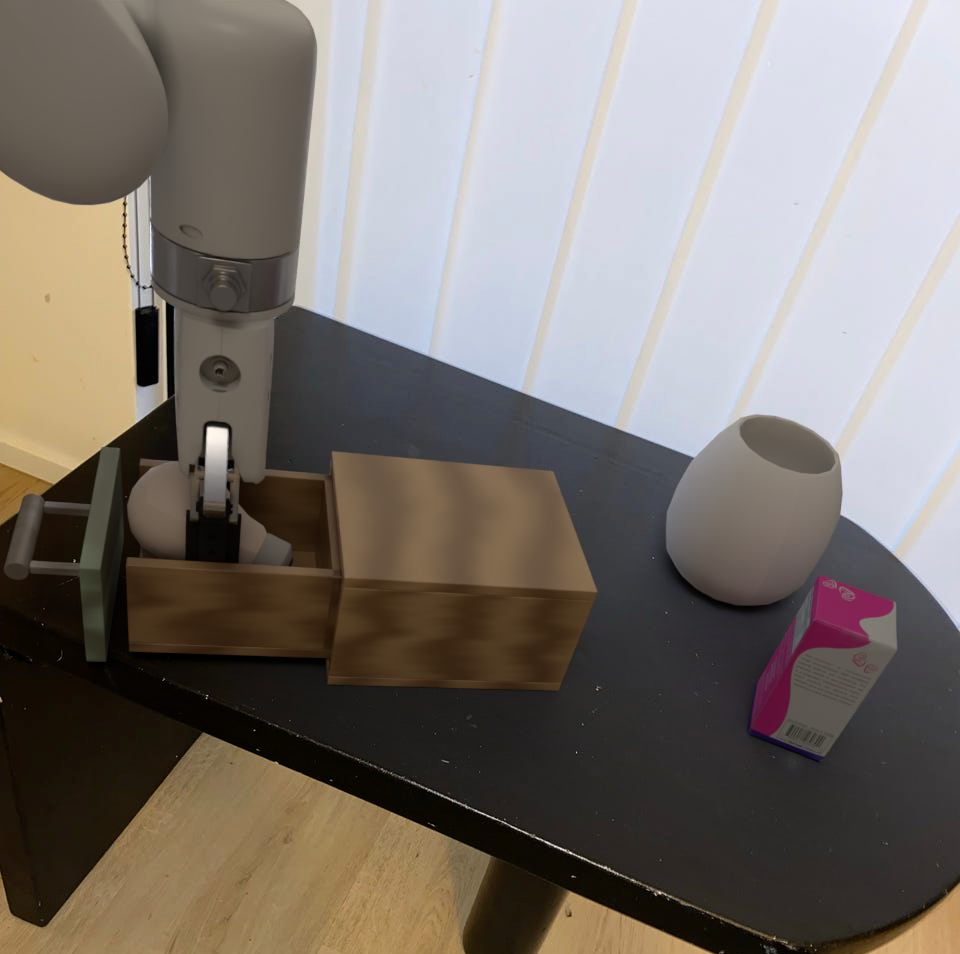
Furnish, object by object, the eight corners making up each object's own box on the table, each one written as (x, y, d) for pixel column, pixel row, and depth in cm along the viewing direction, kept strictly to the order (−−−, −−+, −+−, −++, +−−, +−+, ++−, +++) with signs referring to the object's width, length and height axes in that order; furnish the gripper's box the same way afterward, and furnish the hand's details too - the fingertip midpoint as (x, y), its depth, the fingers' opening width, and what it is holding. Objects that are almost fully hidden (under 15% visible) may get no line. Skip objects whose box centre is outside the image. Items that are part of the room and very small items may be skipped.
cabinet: (327, 684, 66) (344, 577, 60) (317, 555, 75) (331, 450, 69) (558, 691, 70) (598, 592, 64) (522, 568, 80) (553, 470, 73)
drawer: (4, 659, 61) (-11, 562, 55) (35, 533, 69) (24, 439, 64) (332, 669, 66) (346, 582, 61) (323, 551, 74) (334, 466, 69)
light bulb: (323, 504, 64) (164, 422, 61) (290, 578, 60) (117, 493, 57) (292, 558, 69) (144, 484, 66) (260, 629, 65) (100, 554, 62)
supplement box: (826, 711, 75) (900, 601, 68) (821, 764, 71) (900, 653, 63) (754, 682, 76) (820, 570, 68) (745, 733, 71) (814, 620, 64)
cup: (773, 538, 91) (840, 413, 82) (812, 636, 82) (893, 506, 73) (639, 516, 89) (692, 385, 80) (663, 614, 79) (726, 478, 70)
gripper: (302, 352, 47) (274, 623, 59) (292, 208, 59) (270, 458, 71) (136, 333, 45) (142, 617, 57) (160, 188, 57) (161, 448, 69)
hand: (213, 527), depth 64 cm, fingers closed on light bulb, 6 cm apart
